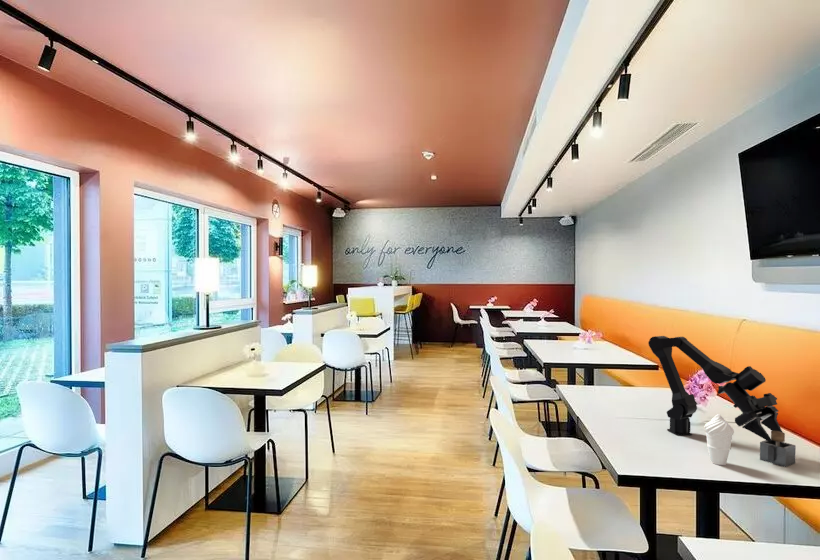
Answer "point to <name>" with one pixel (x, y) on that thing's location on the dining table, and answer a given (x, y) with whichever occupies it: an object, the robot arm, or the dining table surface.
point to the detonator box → (777, 453)
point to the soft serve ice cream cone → (718, 439)
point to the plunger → (778, 437)
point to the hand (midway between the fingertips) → (776, 438)
